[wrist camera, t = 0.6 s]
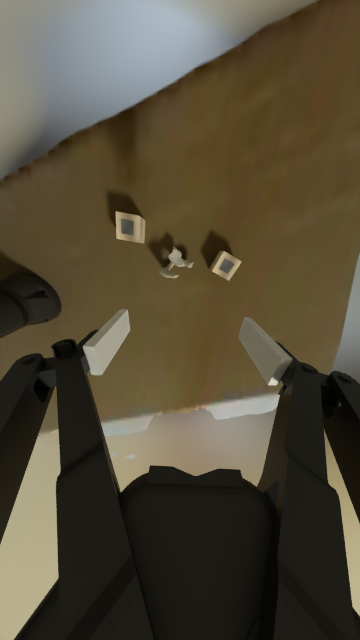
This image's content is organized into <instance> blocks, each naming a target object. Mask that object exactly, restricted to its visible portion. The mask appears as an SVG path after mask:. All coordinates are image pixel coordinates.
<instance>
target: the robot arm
mask: <svg viewBox="0 0 360 640" xmlns="http://www.w3.org/2000/svg"><path fill="white" fill-rule="evenodd" d="M60 312H61V302H60V299H59V297H58V295H57V293H56V292H55V291H54V289H53V288H52V287H51V286H50V285H49V284H48V283H46V282H45V281H44V280H42V279H41V278H39V277H37V276H34V275H31V274H26V273H20V274H13V275H9V276H7V277H5V278H4V279H2V280H0V338H2V337H4V336H6V335H8V334H10V333H12V332H14V331H16V330H18V329H20V328H22V327H25V326H28V325H34V324H39V323H45V322H48V321H50V320H52V319H54V318H56V317H57V316H58V315H59V314H60ZM129 332H130V325H129V316H128V309H120V310H119V311H118V312H117V313H116V314H115V315H114V316H113V317H112V318H111V319H110V320H109V321H108V322H107V323H106V324H105V325H104V326H103V327H102V328H101V329H100V330H95V331H93V332H91V333H89V334H88V335H87V337H85V338H84V340H82V341H81V342H80V343H79V344H76V341H75V340H73V339H66V340H61V341H58V342H57V343H55V344H53V345H52V346H51V351H52V353H53V355H54V357H52V358H45V359H44V358H43V356H42V355H41V354H38V353H35V354H30V355H26V356H24V357H22V358H20V359H18V360H17V361H16V362H15V363H14V364H13V365H12V367H11V368H10V369H9V371H8V372H7V373H6V375H5V376H4V377H3V379H2V380H1V381H0V544H1V541H2V538H3V534H4V532H5V529H6V526H7V523H8V520H9V517H10V514H11V511H12V509H13V506H14V503H15V500H16V497H17V494H18V491H19V489H20V486H21V483H22V480H23V477H24V474H25V471H26V468H27V465H28V462H29V460H30V456H31V454H32V451H33V448H34V445H35V442H36V439H37V436H38V433H39V431H40V428H41V425H42V422H43V419H44V416H45V413H46V410H47V407H48V405H49V402H50V399H51V396H52V393H53V390H54V387H55V386H56V387H57V406H58V425H59V444H60V464H61V472H60V475H59V476H58V478H57V482H56V499H57V500H56V502H57V503H56V504H57V534H58V535H57V537H58V572H59V578H58V580H57V581H56V582H55V584H54V585H53V587H52V588H51V589H50V591H49V592H48V593H47V595H46V596H45V598H44V599H43V600H42V602H41V603H40V604H39V606H38V607H37V608H36V610H35V611H34V613H33V614H32V615H31V617H30V618H29V620H28V621H27V622H26V624H25V625H24V626H23V628H22V629H21V631H20V632H19V633H18V635H17V636H16V637H15V639H14V640H360V616H359V615H358V614H357V612H356V611H355V610H354V608H353V607H352V600H351V591H350V583H349V574H348V566H347V558H346V550H345V541H344V533H343V524H342V517H341V508H340V501H339V496H338V494H337V492H336V490H335V489H334V488H332V487H331V486H330V485H329V483H328V479H327V466H326V454H325V440H324V430H325V433H326V435H327V438H328V441H329V443H330V446H331V448H332V451H333V454H334V456H335V459H336V462H337V464H338V467H339V469H340V472H341V475H342V478H343V480H344V483H345V486H346V488H347V491H348V493H349V496H350V499H351V501H352V504H353V507H354V509H355V512H356V514H357V517H358V520H359V522H360V384H359V383H358V382H357V381H356V380H355V379H353V378H351V376H349V375H347V374H345V373H341V372H338V371H333V372H331V373H330V375H325V374H321V373H319V372H318V371H317V370H316V369H315V368H314V367H312V366H311V365H309V364H306V363H302V362H299V361H298V360H297V359H296V358H295V357H294V356H293V355H292V354H291V353H290V352H288V350H286V349H285V348H284V347H283V346H282V345H281V344H280V343H278V342H276V341H274V340H273V339H272V338H271V337H270V336H269V335H268V334H267V333H266V332H265V331H264V330H263V329H262V328H261V327H260V326H259V325H258V324H257V323H256V322H255V321H254V320H253V319H252V318H248V317H244V319H243V323H242V326H241V329H240V332H239V335H238V338H239V340H240V342H241V343H242V345H243V346H244V348H245V350H246V351H247V353H248V354H249V356H250V357H251V359H252V361H253V362H254V364H255V365H256V367H257V369H258V370H259V372H260V373H261V375H262V376H263V378H264V380H265V381H266V383H267V384H268V385H278V384H279V382H280V380H281V381H282V383H283V384H284V385H283V386H282V388H281V390H280V391H279V393H278V394H279V395H280V398H279V402H278V407H277V411H276V416H275V420H274V424H273V429H272V433H271V438H270V442H269V446H268V451H267V455H266V460H265V465H264V469H263V473H262V476H261V479H260V481H259V483H258V486H257V487H256V486H255V485H253V484H252V483H251V482H248V481H247V480H245V479H244V478H242V475H241V471H240V470H234V469H216V470H213V471H211V472H208V473H205V474H202V475H199V476H193V475H191V474H188V473H186V472H184V471H181V470H179V469H177V468H174V467H170V466H169V467H168V466H150V468H149V473H146V474H143V475H141V476H140V477H138V478H136V479H135V480H134V481H132V482H131V483H130V484H129V485H128V486H127V487H126V488H125V489H124V490H123V491H122V492H120V488H119V485H118V481H117V478H116V475H115V472H114V468H113V465H112V461H111V458H110V454H109V451H108V447H107V444H106V441H105V437H104V433H103V429H102V426H101V422H100V419H99V415H98V412H97V408H96V405H95V401H94V398H93V394H92V390H91V387H90V383H89V380H88V376H87V372H88V371H89V370H90V371H91V374H92V375H102V374H103V372H104V371H105V369H106V367H107V366H108V364H109V363H110V361H111V360H112V358H113V357H114V355H115V353H116V352H117V350H118V349H119V347H120V346H121V344H122V342H123V341H124V339H125V338H126V336H127V335H128V333H129Z"/></svg>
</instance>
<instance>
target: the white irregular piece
mask: <svg viewBox="0 0 360 640" xmlns="http://www.w3.org/2000/svg"><path fill="white" fill-rule="evenodd" d="M181 255H182V254H181V252H180V251H179V250H177V248H176V247H175V246H173V249H172V253H171V254H170V255H169V256H168V258H169V260H170V261H171V262H170V263H169V265H168V266H167V267H165V268H160V270H159V272H160V274H161V275H163V276H164V277H167V278H176V277H178V276H179V275H178V274H171V273H169V271H170V269H171V268H172V267H173V265H176V266H178V267H183V266H187V267H188V268H191V266H192V265H193V263H194V262H192V261H190V260H191V259H190V260H184V259H182V258H181Z"/></svg>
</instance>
